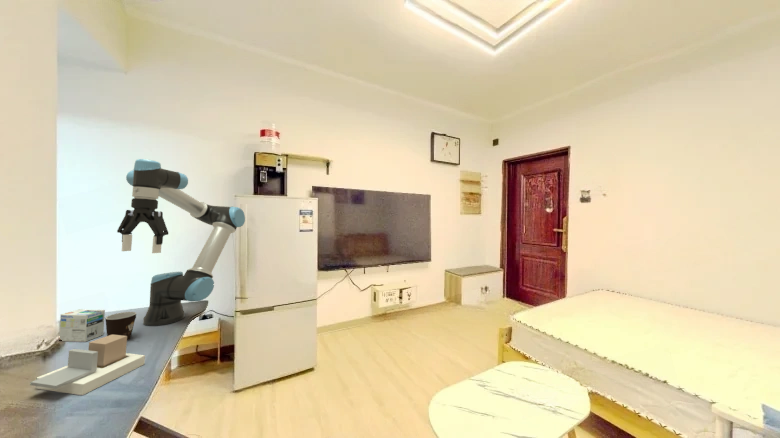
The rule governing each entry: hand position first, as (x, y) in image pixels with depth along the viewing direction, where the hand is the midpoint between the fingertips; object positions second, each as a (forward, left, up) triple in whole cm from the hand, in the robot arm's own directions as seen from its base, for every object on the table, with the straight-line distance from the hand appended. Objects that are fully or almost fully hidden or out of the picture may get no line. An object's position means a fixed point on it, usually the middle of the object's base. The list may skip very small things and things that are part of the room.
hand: (141, 252), depth 99 cm
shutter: (+25, +9, -33) cm, 43 cm away
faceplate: (+18, +9, -37) cm, 42 cm away
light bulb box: (-1, -26, -37) cm, 45 cm away
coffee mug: (-4, -10, -37) cm, 38 cm away
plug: (+15, +9, -36) cm, 40 cm away
